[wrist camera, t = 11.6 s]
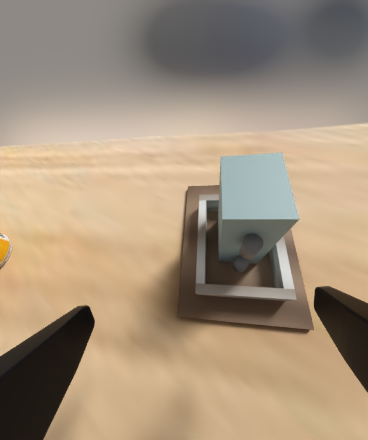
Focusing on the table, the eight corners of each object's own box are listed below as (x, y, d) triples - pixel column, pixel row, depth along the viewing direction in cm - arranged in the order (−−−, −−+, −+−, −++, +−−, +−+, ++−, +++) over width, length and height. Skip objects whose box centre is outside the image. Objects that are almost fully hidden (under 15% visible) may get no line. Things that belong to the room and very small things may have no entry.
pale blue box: (258, 275, 17) (304, 240, 9) (218, 273, 18) (222, 239, 9) (252, 221, 20) (282, 152, 11) (217, 221, 21) (220, 156, 12)
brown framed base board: (310, 329, 15) (331, 333, 12) (178, 316, 17) (172, 317, 14) (278, 185, 22) (287, 168, 20) (188, 189, 24) (185, 174, 22)
